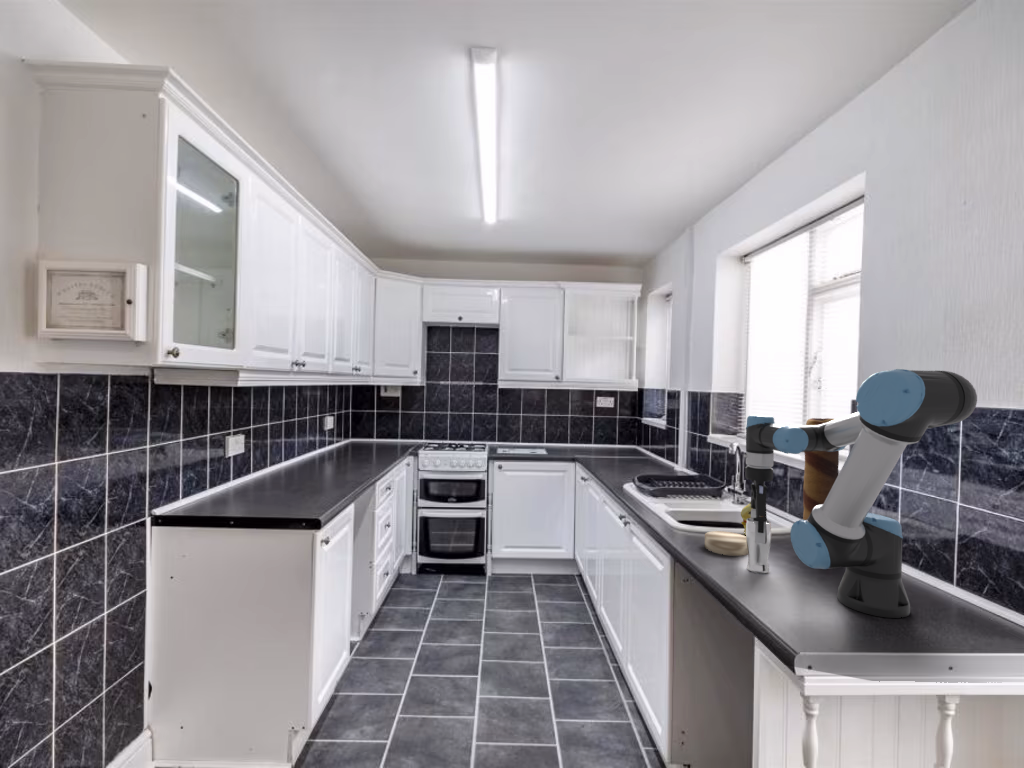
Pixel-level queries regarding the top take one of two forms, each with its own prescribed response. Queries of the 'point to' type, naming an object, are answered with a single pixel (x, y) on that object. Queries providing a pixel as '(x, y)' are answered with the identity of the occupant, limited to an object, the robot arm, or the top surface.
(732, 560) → the top surface
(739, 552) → the beige round disc
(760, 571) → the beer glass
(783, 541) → the top surface
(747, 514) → the chocolate bunny
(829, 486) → the wafer roll
